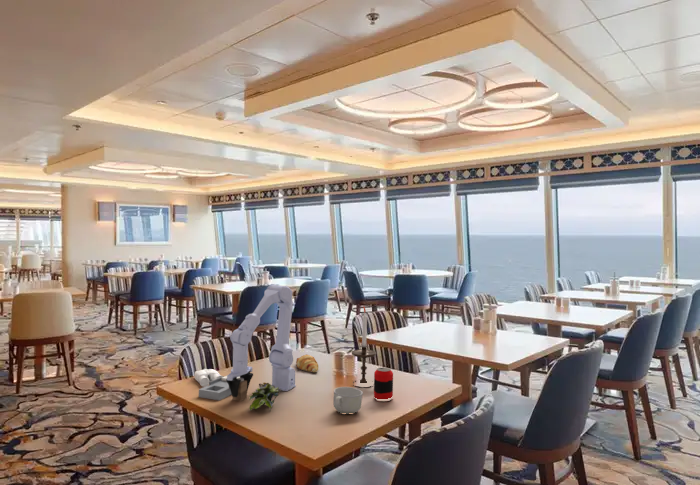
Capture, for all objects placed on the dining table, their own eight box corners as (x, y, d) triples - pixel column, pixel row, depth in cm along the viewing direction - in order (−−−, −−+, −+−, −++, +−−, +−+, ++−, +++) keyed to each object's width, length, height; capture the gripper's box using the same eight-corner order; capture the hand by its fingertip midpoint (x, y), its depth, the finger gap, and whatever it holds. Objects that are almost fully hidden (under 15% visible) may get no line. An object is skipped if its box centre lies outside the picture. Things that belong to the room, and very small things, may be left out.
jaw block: (246, 398, 194) (247, 378, 194) (241, 401, 190) (241, 380, 190) (238, 396, 195) (238, 376, 195) (232, 399, 191) (232, 379, 191)
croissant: (321, 380, 232) (328, 364, 234) (305, 372, 228) (312, 357, 229) (302, 368, 250) (309, 354, 252) (286, 361, 246) (293, 347, 247)
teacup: (345, 405, 188) (346, 384, 188) (368, 411, 181) (368, 390, 181) (321, 414, 177) (321, 392, 177) (344, 422, 170) (344, 399, 170)
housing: (243, 389, 205) (243, 379, 205) (219, 400, 190) (220, 389, 190) (222, 385, 209) (222, 376, 209) (197, 396, 194) (198, 386, 194)
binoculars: (200, 388, 206) (200, 377, 206) (191, 378, 220) (191, 368, 220) (224, 384, 212) (224, 374, 211) (214, 375, 225) (214, 365, 225)
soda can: (386, 395, 200) (387, 366, 200) (396, 400, 194) (396, 370, 194) (370, 397, 197) (371, 368, 197) (379, 403, 190) (380, 372, 190)
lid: (248, 377, 210) (248, 370, 210) (237, 382, 203) (237, 375, 203) (232, 375, 213) (232, 368, 213) (221, 380, 206) (221, 372, 206)
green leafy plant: (263, 419, 186) (276, 389, 192) (276, 422, 177) (291, 391, 183) (239, 406, 181) (254, 376, 187) (252, 409, 173) (267, 377, 178)
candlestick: (346, 383, 216) (347, 305, 216) (365, 379, 222) (366, 303, 222) (361, 389, 207) (363, 308, 207) (380, 385, 213) (382, 306, 213)
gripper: (242, 354, 201) (241, 387, 201) (220, 362, 187) (220, 398, 187) (256, 356, 198) (256, 389, 198) (236, 364, 185) (235, 400, 185)
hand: (239, 394), depth 192 cm, fingers open, 6 cm apart
